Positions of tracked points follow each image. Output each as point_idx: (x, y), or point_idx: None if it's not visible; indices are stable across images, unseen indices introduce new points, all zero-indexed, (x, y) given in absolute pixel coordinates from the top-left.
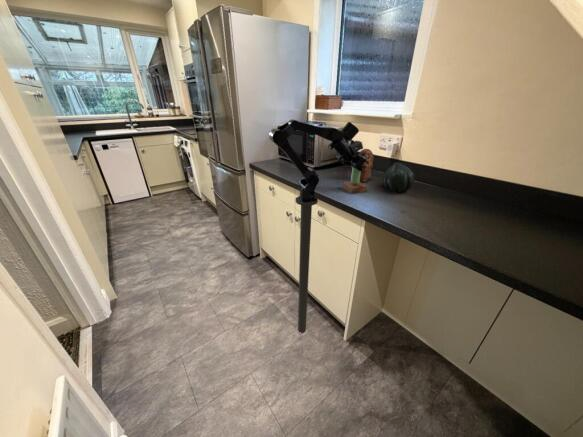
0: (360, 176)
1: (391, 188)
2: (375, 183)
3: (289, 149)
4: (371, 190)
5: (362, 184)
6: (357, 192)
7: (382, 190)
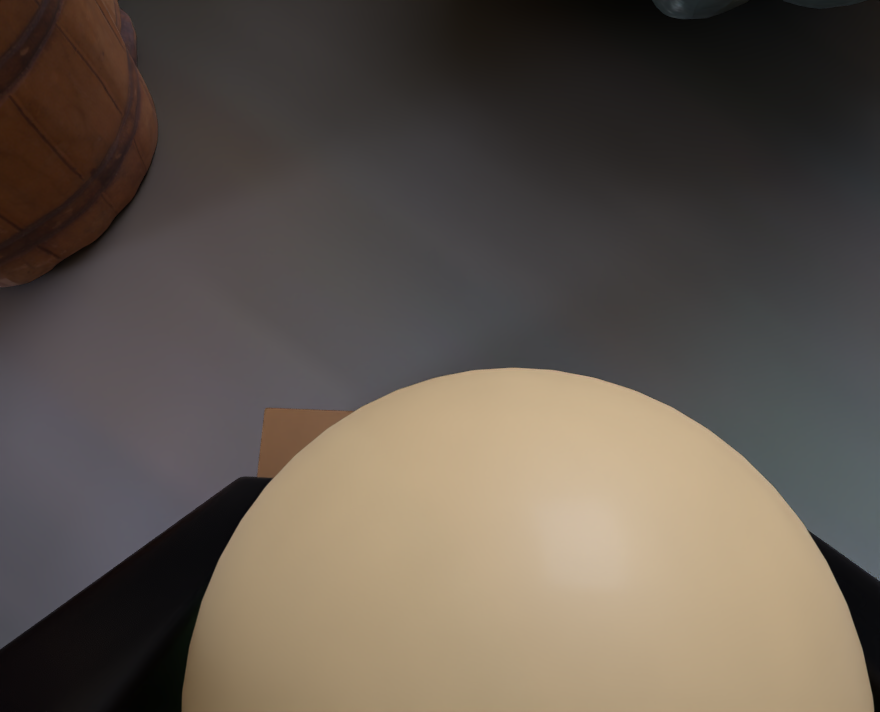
0: (59, 157)
1: (856, 2)
2: (324, 9)
3: None
4: (628, 303)
5: None
6: None
7: (691, 119)
